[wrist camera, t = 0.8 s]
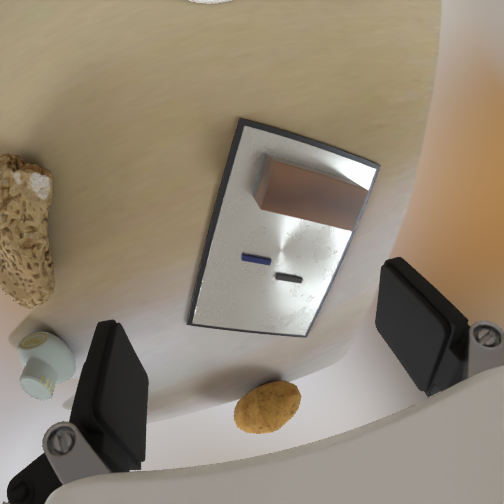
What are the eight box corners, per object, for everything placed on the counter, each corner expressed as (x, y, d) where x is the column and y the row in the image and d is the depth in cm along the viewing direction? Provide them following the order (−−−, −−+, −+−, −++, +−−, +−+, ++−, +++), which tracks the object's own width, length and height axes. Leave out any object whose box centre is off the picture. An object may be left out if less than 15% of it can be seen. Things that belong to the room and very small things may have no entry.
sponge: (7, 148, 30) (-21, 279, 33) (-13, 150, 24) (-38, 303, 27) (87, 176, 37) (51, 303, 40) (82, 184, 31) (45, 332, 34)
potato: (314, 425, 51) (300, 409, 46) (249, 446, 52) (227, 433, 47) (301, 385, 59) (286, 364, 54) (242, 407, 60) (220, 389, 55)
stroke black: (276, 273, 44) (277, 275, 43) (302, 277, 45) (303, 279, 45) (274, 277, 44) (275, 279, 44) (300, 281, 45) (301, 283, 45)
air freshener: (42, 365, 46) (28, 406, 37) (18, 333, 42) (-2, 373, 33) (86, 358, 47) (75, 403, 38) (62, 323, 43) (44, 368, 34)
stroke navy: (242, 253, 42) (243, 255, 41) (271, 258, 43) (271, 260, 42) (241, 258, 42) (241, 260, 41) (269, 264, 43) (270, 265, 43)
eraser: (265, 153, 36) (275, 161, 32) (350, 179, 39) (369, 190, 35) (252, 196, 38) (260, 209, 34) (336, 217, 42) (352, 232, 37)
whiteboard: (239, 117, 34) (240, 118, 34) (378, 164, 40) (381, 166, 39) (186, 322, 46) (186, 326, 46) (305, 335, 52) (307, 338, 51)
